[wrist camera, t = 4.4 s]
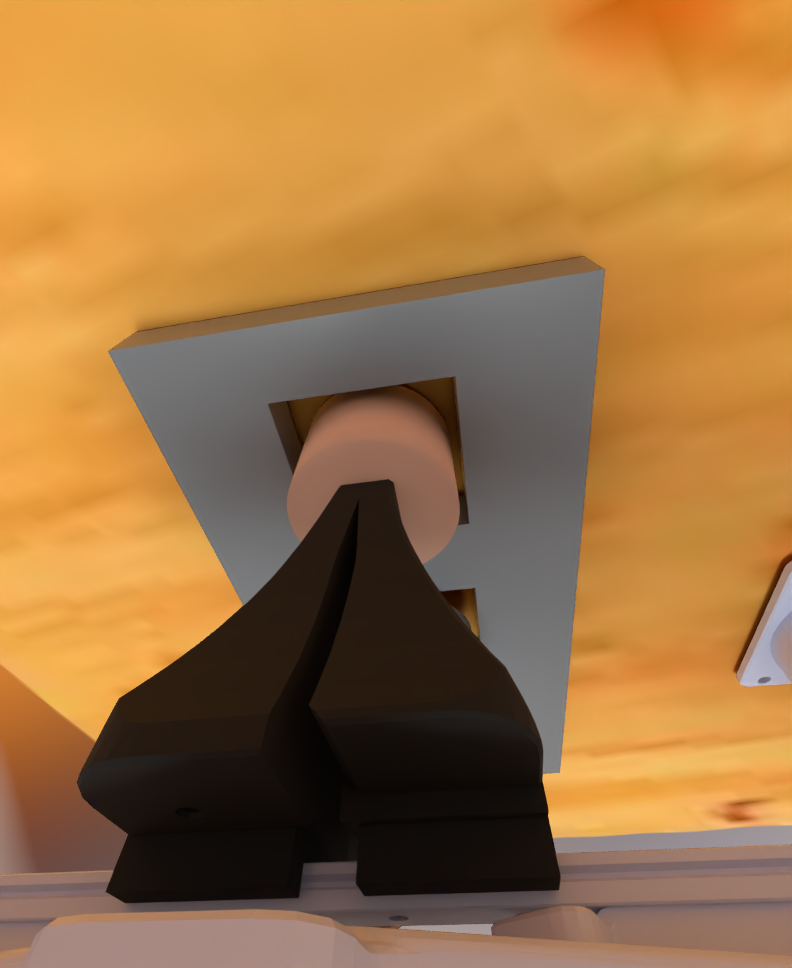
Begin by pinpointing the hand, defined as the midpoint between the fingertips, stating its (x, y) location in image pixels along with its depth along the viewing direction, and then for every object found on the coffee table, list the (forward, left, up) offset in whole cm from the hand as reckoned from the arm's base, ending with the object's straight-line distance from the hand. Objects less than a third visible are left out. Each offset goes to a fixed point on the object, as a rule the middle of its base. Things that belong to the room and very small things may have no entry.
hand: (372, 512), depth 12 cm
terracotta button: (0, 0, -3) cm, 3 cm away
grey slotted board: (0, +8, -3) cm, 9 cm away
